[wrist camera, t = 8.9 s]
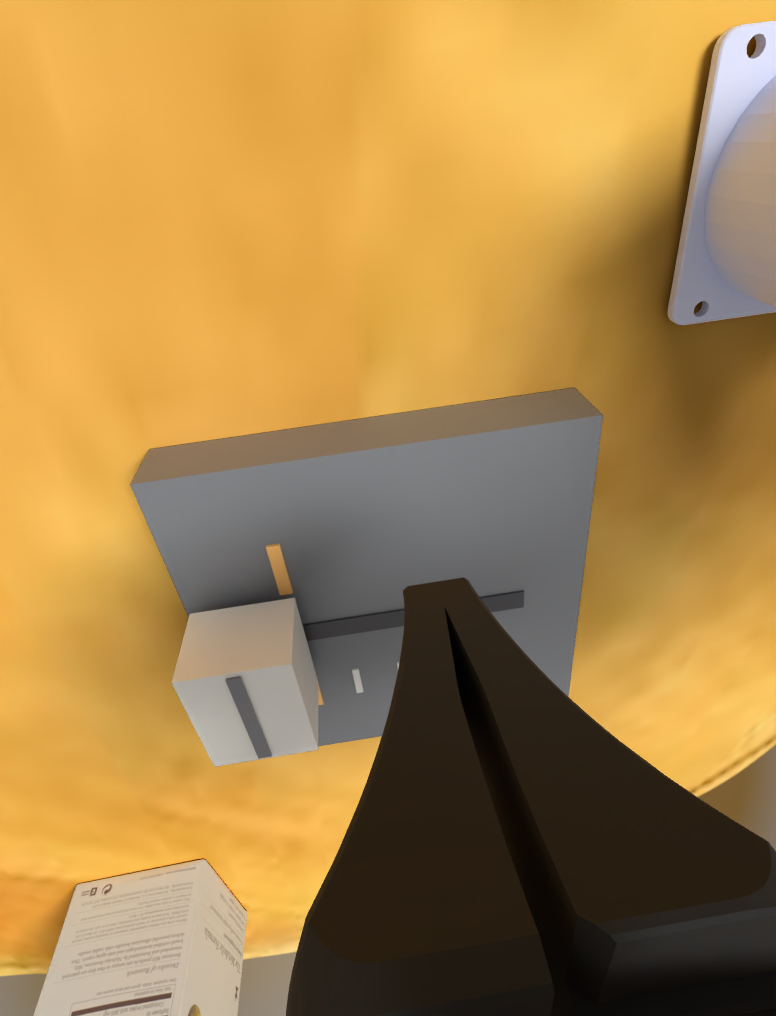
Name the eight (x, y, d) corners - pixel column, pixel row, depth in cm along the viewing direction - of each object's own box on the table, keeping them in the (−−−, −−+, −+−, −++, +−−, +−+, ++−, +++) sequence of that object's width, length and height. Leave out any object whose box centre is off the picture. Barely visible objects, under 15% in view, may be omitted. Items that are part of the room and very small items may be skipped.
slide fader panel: (574, 387, 21) (604, 416, 19) (549, 666, 30) (568, 708, 28) (149, 449, 20) (128, 486, 18) (254, 713, 29) (249, 759, 27)
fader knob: (295, 592, 21) (291, 666, 18) (318, 676, 24) (318, 752, 21) (191, 608, 21) (170, 685, 18) (226, 690, 24) (214, 769, 21)
